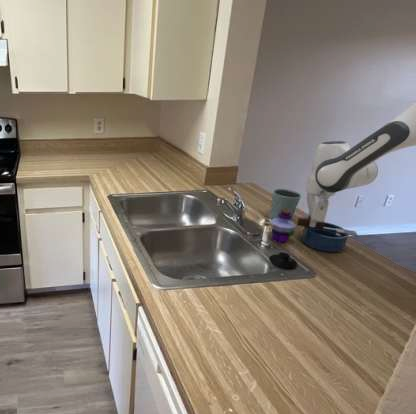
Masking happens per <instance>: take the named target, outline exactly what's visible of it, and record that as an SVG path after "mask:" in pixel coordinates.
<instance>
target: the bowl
mask: <svg viewBox="0 0 416 414" xmlns="http://www.w3.org/2000/svg"><path fill="white" fill-rule="evenodd" d="M324 222H325V224H324V227H327V228H333V229H335V228H337V229H344V228H343V227H342V226H339V225H337V224H334V223H330V222H326V221H324ZM349 236H350V235H347V234H342V233H336V231H330V230H324V229H323V230H321V229H316V228H310V227H304V226H303V230H302V233H301V237H300V239H301V241H302V242H303V243H304V244H305V245H306V246H307V247H310V248H312V249H314V250H317V251H321V252H327V253H337V252H342V251H343V250H344V249H345V247H346V244H347V241H348V239H349Z"/></svg>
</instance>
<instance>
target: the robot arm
mask: <svg viewBox="0 0 416 414" xmlns="http://www.w3.org/2000/svg"><path fill="white" fill-rule="evenodd" d="M414 146H416V101H415V102H413V103H412V104H411V105H409V106H408V107H407V108H406V109H404V110H403V111H401V112H400V113H399V114H398V115H397V116H395V117H394V118H392V119H391V120H390V121H388V122H387V123H386V124H384V125H383V126H382V127H380V128H379V129H377V130H376V131H374V132H373V133H371V134H370V135H368V136H367V137H366V138H364V139H362V140H361V141H360V142H358V143H357V144H355V145H354V146H352V147H351V145H350V144H349V143H348V142H347V141H344V140H343V141H342V140H332V141H331V140H330V141H324V142H321V143H319V145H318V146H317V148H316V150H315V153H314V156H313V159H312V162H311V170H310V173H309V175H308V177H307V182H306V184H305V189H304V190H305V192H306V205H307V208H308V215H307V218H309V219H311V220H310V222H309V226H310V227H315V225H316V223H317V222H325V221H326V217H327V212H328V209H329V203H330V202H329V201H330V200H329V199H331V197H333V196H335V195H336V193H338V192H342V191H344V190H350V189H355V188H359V187H363V186H367V185H370V184H372V183H373V182H374V181H375V180H376V178H377V177H378V174H379V173H378V171H379V168H378V164H377V163H376V161H377V160H379V159H381V158H383V157H384V156H386V155H389V154H390V153H393V152H395V151H399V150H402V149H405V148H409V147H410V148H411V147H414Z"/></svg>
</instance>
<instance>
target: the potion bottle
mask: <svg viewBox="0 0 416 414" xmlns="http://www.w3.org/2000/svg"><path fill="white" fill-rule="evenodd" d="M290 212H291V211H290V210H287V209H282V210H281V212H279V213H278V217H279V218H274V219H272V220H271V222H272V224H273V229H272V232H271V231H270V238H271V237H272V239H273V240H275V241H277V242H276V243H278V242H280V243H279V244H286V243H288V240H289V239H290V238H291V237H292V236H293V235H294V233H295V230H296V228H297V224H295V222H294V221H293V220H292V221H289V219H291V218H292V214H291V213H290ZM292 219H293V218H292ZM272 239H271V240H272ZM273 240H272V241H273ZM275 241H274V242H275Z"/></svg>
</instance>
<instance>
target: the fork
mask: <svg viewBox="0 0 416 414" xmlns="http://www.w3.org/2000/svg"><path fill="white" fill-rule="evenodd" d="M310 220H311V219H309V218H308V217H303V216H298V218H297V221H296V226H297V227H303V228H304V227H310V226H309V222H310ZM325 222H326V221H324V222H317V223H316V225H315V227H310V228H316V229H321V230H323V229H324V230H330V231H336V233H342V234H347V235H349V236H353V237H358V236H359V235H358V233H357V231H356V230H351V229H350V230H349V229H345V228H343V229H337V228H335V229H333V228H327V227H324V224H325Z"/></svg>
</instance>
